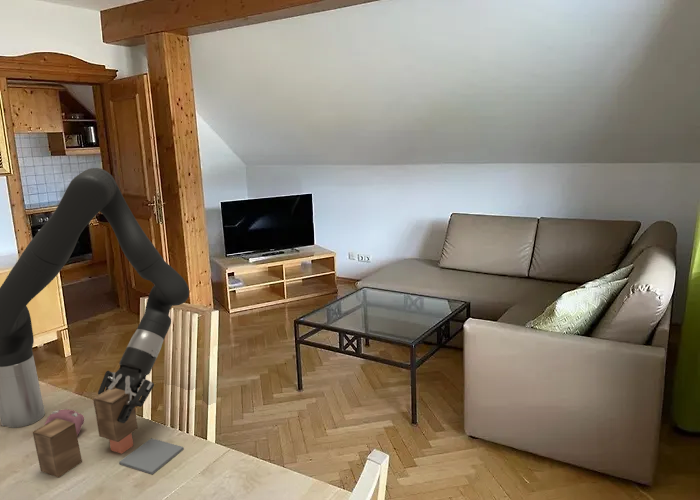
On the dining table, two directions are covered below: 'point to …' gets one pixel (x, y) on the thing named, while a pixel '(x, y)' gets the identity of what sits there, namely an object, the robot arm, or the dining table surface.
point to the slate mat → (151, 456)
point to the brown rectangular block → (113, 415)
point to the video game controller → (68, 417)
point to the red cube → (122, 444)
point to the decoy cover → (57, 447)
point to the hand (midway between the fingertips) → (110, 419)
